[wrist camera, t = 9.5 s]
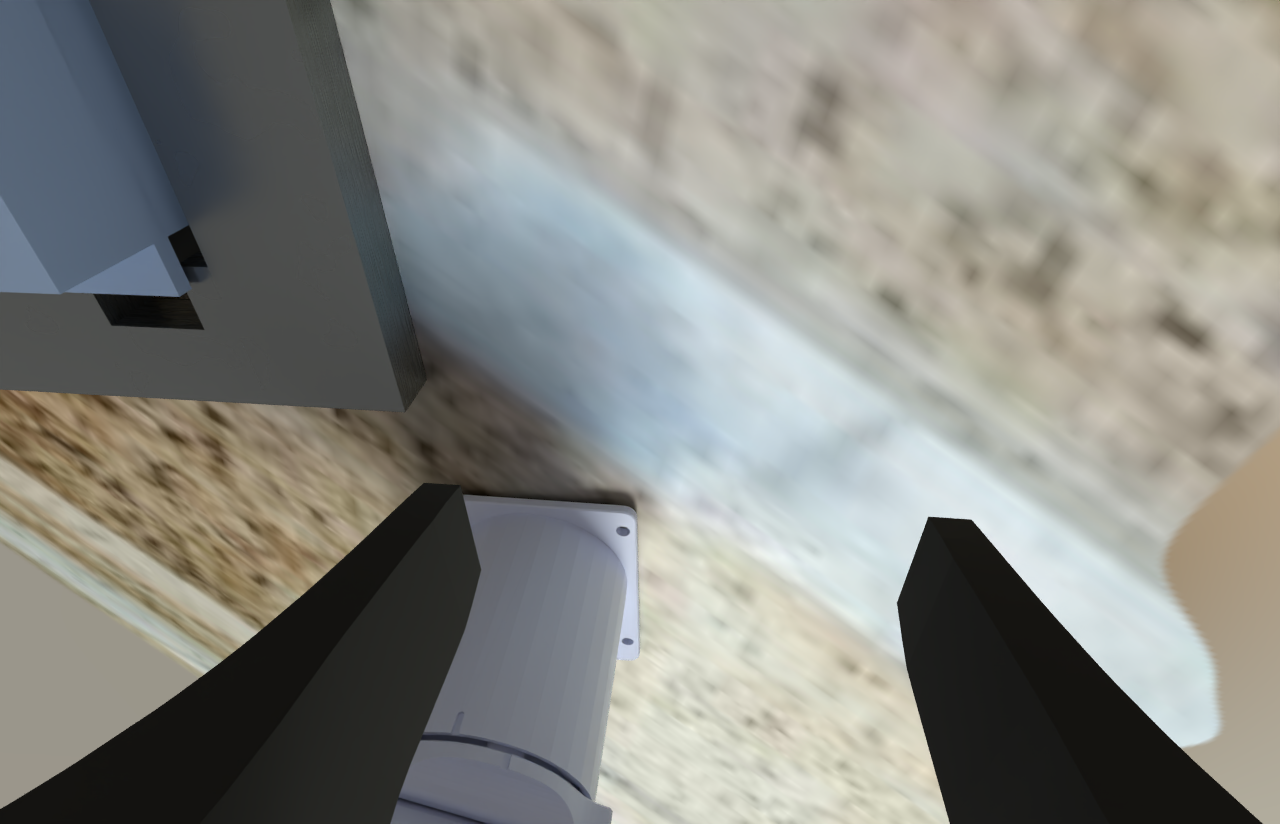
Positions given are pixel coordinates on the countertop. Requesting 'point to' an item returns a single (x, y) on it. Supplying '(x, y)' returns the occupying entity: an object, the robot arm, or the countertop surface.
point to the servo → (79, 165)
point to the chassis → (240, 227)
